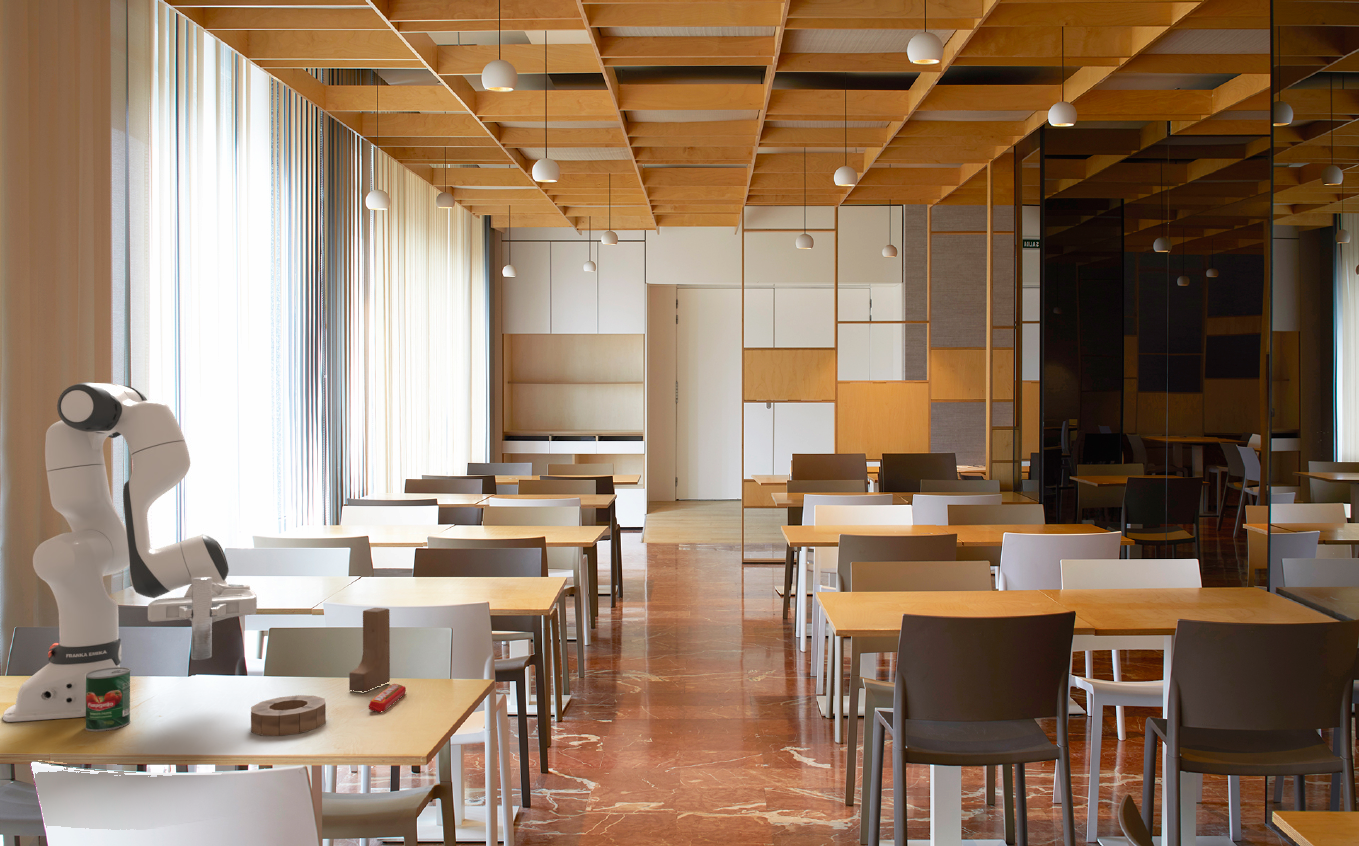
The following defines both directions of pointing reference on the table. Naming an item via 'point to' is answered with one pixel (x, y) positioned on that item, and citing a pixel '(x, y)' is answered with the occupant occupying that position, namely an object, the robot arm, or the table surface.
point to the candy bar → (387, 697)
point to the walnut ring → (288, 715)
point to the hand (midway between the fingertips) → (201, 613)
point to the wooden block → (373, 652)
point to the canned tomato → (107, 699)
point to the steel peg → (201, 618)
